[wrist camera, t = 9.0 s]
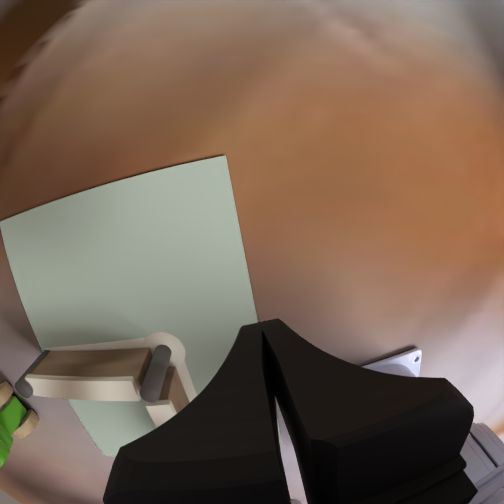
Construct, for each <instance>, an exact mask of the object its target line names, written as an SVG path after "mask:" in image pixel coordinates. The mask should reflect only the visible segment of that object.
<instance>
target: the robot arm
mask: <svg viewBox="0 0 504 504" xmlns="http://www.w3.org/2000/svg"><path fill="white" fill-rule="evenodd" d="M421 355H422V351H421V350H420V349H419V348H415V349H412V350H409V351H407V352H404V353H401V354H398V355H395V356H393V357H390V358H387V359H384V360H381V361H378V362H375V363H372V364H368V365H365V366H362V367H360V366H357V365H354V364H351V363H348V362H346V361H343V360H341V359H339V358H336V357H334V356H332V355H330V354H328V353H326V352H324V351H322V350H320V349H319V348H317V347H315V346H314V345H312V344H311V343H309V342H308V341H306V340H305V339H303V338H302V337H301V336H299V335H298V334H297V333H295V332H294V331H293V330H292V329H290V328H289V327H288V326H287V325H286V324H285V323H284V322H283V321H281V320H280V319H273V320H268V321H263V322H258V323H253V324H248V325H243V326H241V328H240V329H239V332H238V335H237V337H236V340H235V342H234V344H233V346H232V348H231V350H230V352H229V353H228V355H227V357H226V359H225V361H224V362H223V364H222V365H221V367H220V368H219V370H218V371H217V373H216V374H215V376H214V377H213V378H212V380H211V381H210V382H209V383H208V385H207V386H206V387H205V388H204V389H203V390H202V391H201V393H200V394H198V395H197V396H196V397H195V398H194V399H193V400H192V401H191V402H190V403H189V404H188V405H187V406H185V407H184V408H183V409H182V410H181V411H180V412H178V413H177V414H176V415H174V416H173V417H172V418H170V419H169V420H168V421H166V422H165V423H163V424H162V425H160V426H159V427H157V428H156V429H154V430H152V431H151V432H149V433H147V434H145V435H143V436H141V437H140V438H138V439H136V440H134V441H132V442H130V443H128V444H126V445H124V446H122V447H120V448H119V451H118V453H117V456H116V458H115V460H114V463H113V466H112V469H111V472H110V476H109V479H108V483H107V486H106V489H105V493H104V496H103V502H104V504H291V500H290V495H289V491H288V486H287V481H286V476H285V472H284V467H283V462H282V457H281V451H280V444H279V433H278V423H277V412H276V402H275V396H276V399H277V402H278V405H279V407H280V410H281V413H282V416H283V419H284V421H285V424H286V427H287V430H288V432H289V435H290V438H291V441H292V444H293V447H294V450H295V453H296V457H297V462H298V466H299V470H300V474H301V478H302V482H303V486H304V491H305V495H306V499H307V503H308V504H504V443H503V442H502V441H501V440H500V439H499V437H498V436H497V435H496V434H495V433H494V432H493V431H492V430H491V429H490V428H489V427H488V426H487V425H485V424H484V423H477V424H475V423H472V422H473V418H474V410H473V406H472V405H471V404H470V403H469V401H468V400H467V399H466V398H465V397H464V396H463V395H462V394H461V393H460V391H459V390H458V389H457V388H456V387H454V386H453V385H452V384H451V383H450V382H449V381H448V380H447V379H446V378H427V377H419V370H420V363H421ZM416 357H417V358H416ZM415 358H416V359H415ZM469 434H470V435H471V436H470V435H469Z"/></svg>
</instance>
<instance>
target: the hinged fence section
mask: <svg viewBox="0 0 504 504" xmlns="http://www.w3.org/2000/svg"><path fill="white" fill-rule="evenodd" d="M151 359H152V352H151V349H150V347H147V348H132V349H113V350H87V351H49V350H44V351H43V352H42V354H41V355H40V356H39V357H38V358H37V359H36V360H35V361H34V363H33V364H32V365H31V366H30V367H29V368H28V369H27V371H26V372H25V373H24V374H23V375H22V376H21V377H20V379H19V380H18V381H17V382H16V383H15V388H16V390H17V391H18V393H19V394H20V395H22V396H23V397H25V398H29V397H30V396H31V395H32V393H33V395H34V396H41V397H50V398H62V399H75V400H94V401H140V398H141V396H140V394H139V392H140V389H141V386H142V383H143V381H144V378H145V375H146V372H147V370H148V367H149V364H150V362H151Z"/></svg>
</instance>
